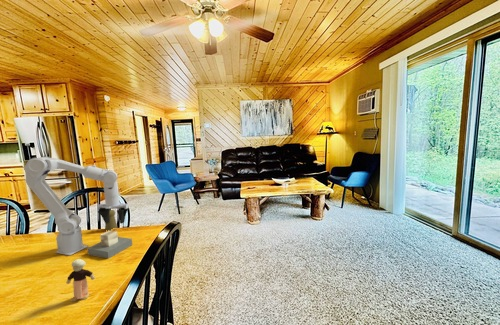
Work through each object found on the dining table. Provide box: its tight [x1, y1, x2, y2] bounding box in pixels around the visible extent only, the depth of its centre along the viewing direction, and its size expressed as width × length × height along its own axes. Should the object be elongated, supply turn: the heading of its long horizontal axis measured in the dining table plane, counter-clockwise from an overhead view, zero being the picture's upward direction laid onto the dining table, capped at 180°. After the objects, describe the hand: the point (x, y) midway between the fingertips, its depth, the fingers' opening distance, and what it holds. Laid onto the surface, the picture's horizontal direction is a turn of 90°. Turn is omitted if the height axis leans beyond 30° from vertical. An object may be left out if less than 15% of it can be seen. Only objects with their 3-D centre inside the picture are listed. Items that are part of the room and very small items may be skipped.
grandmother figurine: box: [65, 258, 96, 302], centre depth 66 cm, size 8×4×13 cm, turn 114°
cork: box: [104, 209, 119, 231], centre depth 118 cm, size 6×6×11 cm
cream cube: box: [99, 230, 119, 247], centre depth 96 cm, size 4×4×5 cm
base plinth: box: [87, 236, 133, 259], centre depth 96 cm, size 12×12×3 cm
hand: (114, 222), depth 104 cm, fingers open, 7 cm apart
